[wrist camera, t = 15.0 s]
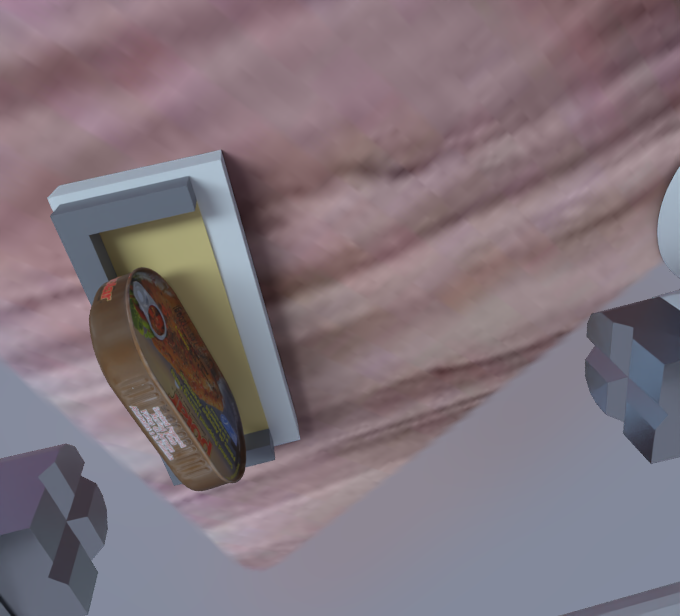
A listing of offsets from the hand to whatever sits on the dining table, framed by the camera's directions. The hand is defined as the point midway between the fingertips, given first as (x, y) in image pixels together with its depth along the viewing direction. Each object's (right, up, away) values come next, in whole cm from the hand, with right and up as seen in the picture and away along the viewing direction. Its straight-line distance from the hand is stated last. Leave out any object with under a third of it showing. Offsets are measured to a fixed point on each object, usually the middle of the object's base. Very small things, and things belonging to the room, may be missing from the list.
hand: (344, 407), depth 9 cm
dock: (-10, +1, +31) cm, 33 cm away
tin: (-11, -1, +29) cm, 31 cm away
